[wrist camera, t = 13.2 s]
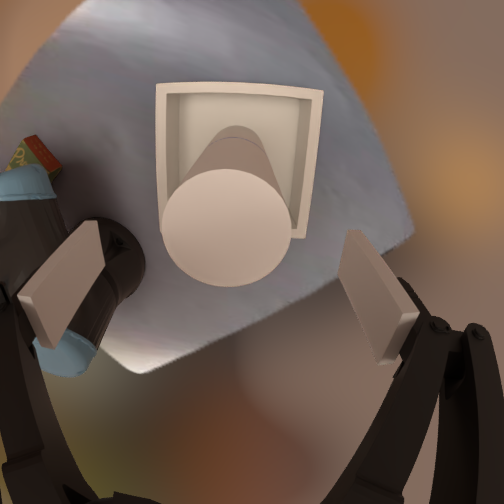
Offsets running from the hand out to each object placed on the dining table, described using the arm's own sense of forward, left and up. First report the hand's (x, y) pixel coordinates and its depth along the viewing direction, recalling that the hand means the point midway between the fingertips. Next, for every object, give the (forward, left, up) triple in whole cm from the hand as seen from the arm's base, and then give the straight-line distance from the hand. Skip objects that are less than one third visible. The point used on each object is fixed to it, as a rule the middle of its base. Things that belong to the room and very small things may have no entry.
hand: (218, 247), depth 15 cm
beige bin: (0, 0, -28) cm, 28 cm away
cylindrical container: (0, 0, -27) cm, 27 cm away
